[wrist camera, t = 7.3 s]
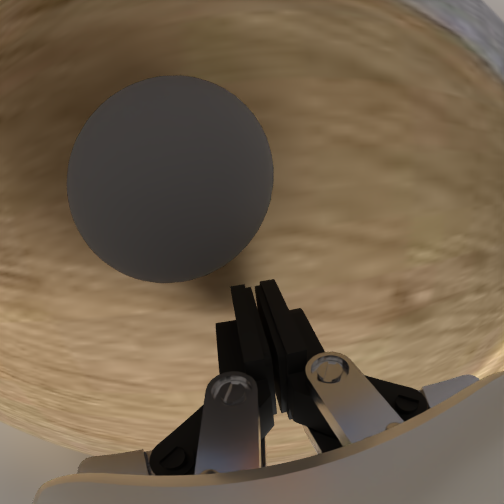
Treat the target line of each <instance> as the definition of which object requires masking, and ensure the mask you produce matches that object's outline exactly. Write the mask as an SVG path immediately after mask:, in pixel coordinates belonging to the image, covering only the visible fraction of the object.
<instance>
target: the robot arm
mask: <svg viewBox="0 0 504 504" xmlns="http://www.w3.org/2000/svg"><path fill="white" fill-rule="evenodd" d="M230 288H231V294H232V299H233V305H234V311H235V317H236V320H233V321H227V322H221V323H216V337H217V349H218V361H219V372H220V375H218V376H216V377H215V378H213V379H212V380H211V381H210V383H209V384H208V386H207V389H206V393H205V399H204V405H203V406H202V407H200V408H199V409H198V410H197V411H196V412H195V413H194V414H193V415H192V416H190V417H189V418H188V419H187V420H186V421H185V422H184V423H183V424H181V425H180V426H179V427H178V428H177V429H176V430H174V431H173V432H172V433H171V434H170V435H169V436H167V437H166V438H165V439H164V440H163V441H161V442H160V443H159V444H158V445H157V446H156V447H155V448H154V449H153V450H152V451H147V452H145V451H144V450H143V449H142V450H137V451H131V452H125V453H118V454H111V455H102V456H93V457H89V458H86V459H85V460H83V461H82V462H81V463H80V465H79V467H78V473H77V474H72V475H66V476H62V477H58V478H55V479H52V480H50V481H48V482H46V483H44V484H43V485H42V486H41V487H40V488H39V489H38V491H37V493H36V494H35V497H34V499H33V502H32V504H504V371H501V372H498V373H494V374H492V375H489V376H487V377H485V378H483V379H481V380H479V379H478V378H477V377H475V376H473V375H462V376H459V377H456V378H453V379H450V380H446V381H443V382H439V383H435V384H432V385H428V386H424V387H422V388H421V390H419V391H418V390H416V389H413V388H410V387H406V386H402V385H398V384H394V383H391V382H387V381H383V380H379V379H376V378H372V377H369V376H365V375H364V374H363V373H362V372H361V371H360V370H359V369H358V368H357V366H356V365H355V364H354V363H353V362H352V361H351V360H350V359H349V358H348V357H347V356H345V355H343V354H341V353H337V352H325V351H324V349H323V347H322V346H321V344H320V342H319V340H318V338H317V336H316V334H315V332H314V331H313V329H312V327H311V325H310V323H309V321H308V319H307V317H306V316H305V314H304V312H303V310H302V309H301V308H298V309H293V310H289V309H288V307H287V305H286V303H285V301H284V299H283V296H282V294H281V292H280V290H279V288H278V286H277V284H276V282H275V280H274V279H272V280H266V281H260V285H259V286H255V293H256V301H257V306H256V303H255V300H254V296H253V293H252V289H251V287H248V288H245V284H243V285H237V286H231V287H230ZM257 309H258V310H257ZM275 393H276V396H277V400H278V403H279V407H280V410H281V413H284V412H287V414H288V417H289V420H290V419H293V421H295V422H297V423H299V424H302V425H303V428H304V431H305V433H306V434H307V436H308V438H309V440H310V441H311V443H312V445H313V447H314V448H315V450H316V452H317V453H318V455H315V456H311V457H307V458H303V459H299V460H295V461H291V462H287V463H282V464H277V465H272V466H267V454H266V437H265V436H266V435H267V433H268V432H269V431H270V430H271V429H272V427H273V426H274V418H273V415H274V414H277V409H276V398H275Z"/></svg>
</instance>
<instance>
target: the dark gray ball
mask: <svg viewBox="0 0 504 504" xmlns="http://www.w3.org/2000/svg"><path fill="white" fill-rule="evenodd" d="M272 188H273V161H272V155H271V151H270V147H269V144H268V141H267V138H266V135H265V133H264V131H263V129H262V127H261V125H260V123H259V122H258V120H257V119H256V117H255V116H254V114H253V113H252V112H251V111H250V110H249V108H248V107H247V106H246V105H245V104H244V103H243V102H242V101H241V100H239V99H238V98H237V97H236V96H235V95H233V94H232V93H230V92H229V91H227V90H226V89H224V88H222V87H220V86H218V85H216V84H214V83H211V82H209V81H206V80H202V79H199V78H195V77H189V76H159V77H154V78H149V79H146V80H143V81H140V82H137V83H134V84H132V85H129V86H127V87H125V88H124V89H122V90H120V91H119V92H117V93H115V94H114V95H112V96H111V97H110V98H108V99H107V100H106V101H105V102H104V103H102V104H101V105H100V106H99V107H98V108H97V110H96V111H95V112H94V113H93V114H92V115H91V116H90V118H89V119H88V120H87V122H86V123H85V125H84V127H83V128H82V130H81V132H80V133H79V135H78V137H77V139H76V142H75V144H74V147H73V150H72V153H71V156H70V160H69V164H68V173H67V195H68V201H69V206H70V210H71V214H72V217H73V220H74V222H75V225H76V227H77V229H78V231H79V232H80V234H81V236H82V237H83V239H84V240H85V242H86V243H87V245H88V246H89V247H90V248H91V249H92V251H93V252H94V253H95V254H96V255H97V256H98V257H99V258H100V259H102V260H103V261H104V262H105V263H107V264H108V265H110V266H111V267H113V268H114V269H116V270H118V271H119V272H121V273H123V274H125V275H128V276H130V277H133V278H136V279H140V280H144V281H149V282H156V283H174V282H184V281H189V280H193V279H196V278H199V277H202V276H205V275H207V274H210V273H211V272H213V271H215V270H217V269H219V268H221V267H222V266H224V265H226V264H227V263H228V262H230V261H231V260H232V259H234V258H235V257H236V256H237V255H238V254H239V253H240V252H241V251H242V250H243V249H244V248H245V247H246V246H247V245H248V244H249V242H250V241H251V240H252V238H253V237H254V235H255V234H256V232H257V231H258V230H259V228H260V226H261V224H262V222H263V220H264V217H265V215H266V213H267V210H268V207H269V204H270V200H271V194H272Z"/></svg>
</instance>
